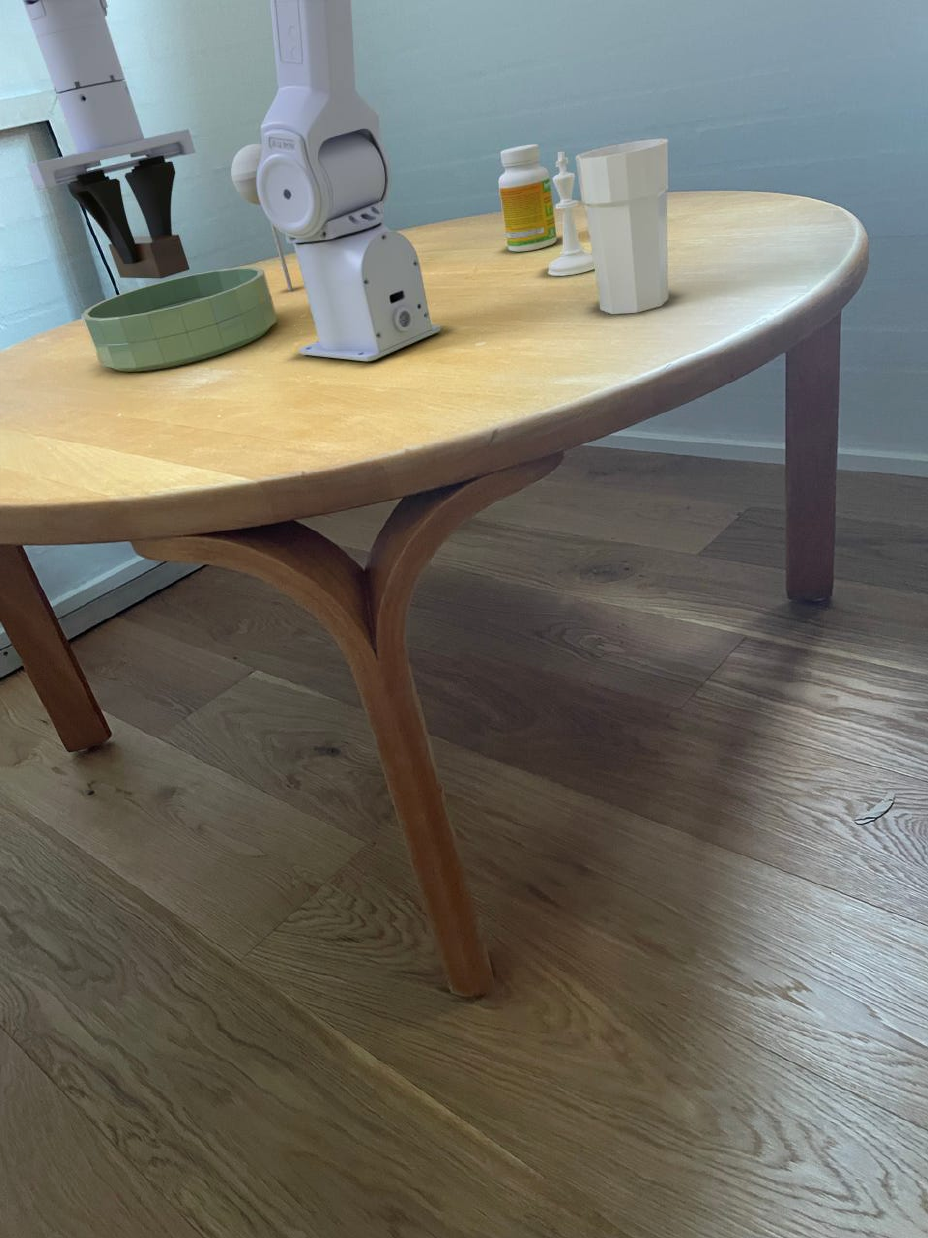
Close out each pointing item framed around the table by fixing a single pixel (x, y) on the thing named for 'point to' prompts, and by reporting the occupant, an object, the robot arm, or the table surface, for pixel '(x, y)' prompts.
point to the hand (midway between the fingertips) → (149, 257)
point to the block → (154, 257)
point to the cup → (627, 222)
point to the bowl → (181, 319)
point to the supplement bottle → (526, 200)
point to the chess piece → (568, 227)
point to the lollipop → (253, 187)
